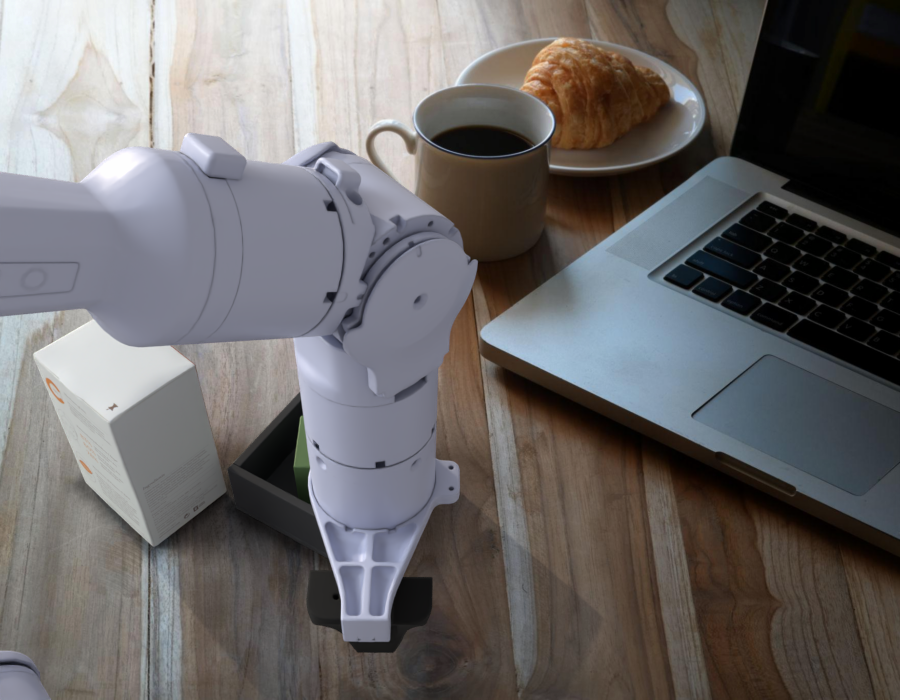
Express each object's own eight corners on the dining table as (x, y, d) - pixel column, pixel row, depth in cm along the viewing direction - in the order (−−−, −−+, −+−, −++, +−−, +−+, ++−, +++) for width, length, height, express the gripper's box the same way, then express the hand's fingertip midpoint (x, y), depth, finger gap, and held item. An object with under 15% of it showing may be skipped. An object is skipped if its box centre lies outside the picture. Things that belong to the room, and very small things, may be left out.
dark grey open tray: (346, 569, 61) (342, 531, 58) (235, 508, 64) (226, 469, 61) (427, 462, 67) (427, 422, 64) (322, 411, 70) (318, 371, 67)
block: (299, 506, 64) (293, 467, 60) (305, 454, 67) (300, 415, 64) (363, 506, 64) (361, 468, 61) (367, 455, 67) (364, 415, 64)
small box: (229, 492, 65) (198, 364, 56) (153, 550, 61) (107, 425, 52) (158, 430, 68) (118, 301, 59) (83, 482, 65) (27, 354, 56)
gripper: (466, 565, 35) (455, 713, 45) (461, 302, 45) (452, 470, 55) (279, 563, 35) (308, 712, 45) (315, 300, 45) (333, 468, 55)
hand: (379, 578), depth 50 cm, fingers open, 7 cm apart
